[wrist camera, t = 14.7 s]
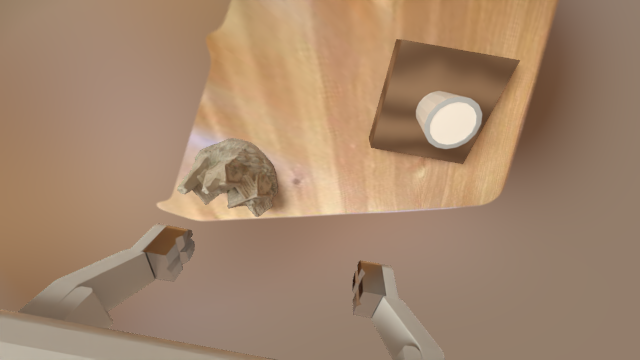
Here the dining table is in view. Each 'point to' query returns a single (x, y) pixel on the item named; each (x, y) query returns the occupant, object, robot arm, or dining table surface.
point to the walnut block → (430, 76)
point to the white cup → (448, 119)
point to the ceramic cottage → (233, 176)
